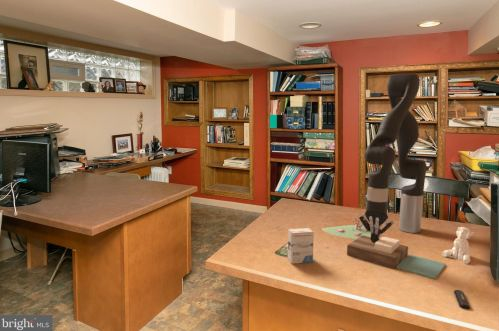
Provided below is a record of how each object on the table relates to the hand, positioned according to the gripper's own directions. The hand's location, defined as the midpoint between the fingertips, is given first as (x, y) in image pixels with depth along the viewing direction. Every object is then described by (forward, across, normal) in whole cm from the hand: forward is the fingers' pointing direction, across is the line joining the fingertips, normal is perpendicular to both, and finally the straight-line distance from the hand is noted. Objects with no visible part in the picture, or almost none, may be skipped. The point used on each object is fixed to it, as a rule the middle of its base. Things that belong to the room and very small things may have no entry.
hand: (374, 242), depth 132 cm
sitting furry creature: (+5, -25, -19) cm, 32 cm away
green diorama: (+6, +19, -18) cm, 27 cm away
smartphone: (+6, +27, +17) cm, 32 cm away
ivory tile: (+1, -5, 0) cm, 5 cm away
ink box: (+5, +19, +23) cm, 30 cm away
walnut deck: (+5, -1, 0) cm, 5 cm away
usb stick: (+6, -32, +14) cm, 36 cm away
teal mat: (+5, -17, -1) cm, 17 cm away
